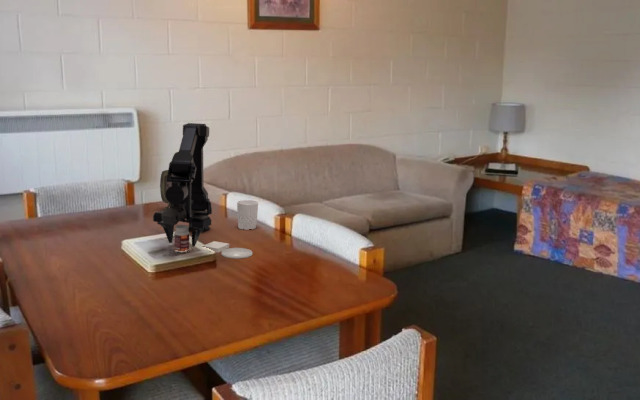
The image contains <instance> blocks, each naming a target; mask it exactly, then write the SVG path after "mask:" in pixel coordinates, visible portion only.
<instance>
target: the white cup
mask: <svg viewBox="0 0 640 400" xmlns="http://www.w3.org/2000/svg"><path fill="white" fill-rule="evenodd" d="M236 203H237V204H236V206H237V207H236V208H237V209H236V210H237V225H238V229H240V230H243V229H244V230H246V231H250V230H249V229H252V230H255V229H256V228H257V221H258V210H259V202H258V201H257V200H252V199H243V200H242V199H240V200H238V201H237V202H236Z"/></svg>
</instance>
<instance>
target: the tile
mask: <svg viewBox="0 0 640 400" xmlns="http://www.w3.org/2000/svg"><path fill="white" fill-rule="evenodd" d="M202 247H206V248H209V249H211V250H213V251H215V252H214V253H220V252H222V251H223V250H225V249H228V248H230V243H227V242H221V241H215V240H213V241H211V242H209V243H206V244H203V245H202ZM202 247H201V248H202Z"/></svg>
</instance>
